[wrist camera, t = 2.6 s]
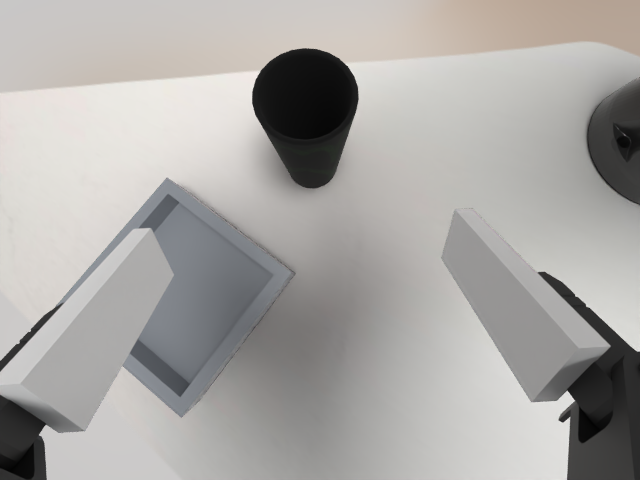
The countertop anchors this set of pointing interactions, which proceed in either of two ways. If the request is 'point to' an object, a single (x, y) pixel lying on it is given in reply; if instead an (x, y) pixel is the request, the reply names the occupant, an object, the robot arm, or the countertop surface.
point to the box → (196, 296)
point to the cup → (306, 111)
